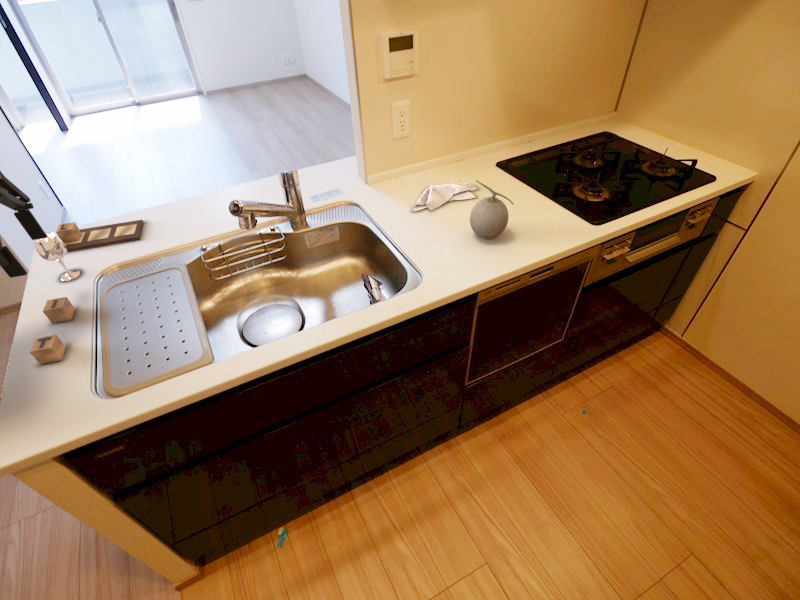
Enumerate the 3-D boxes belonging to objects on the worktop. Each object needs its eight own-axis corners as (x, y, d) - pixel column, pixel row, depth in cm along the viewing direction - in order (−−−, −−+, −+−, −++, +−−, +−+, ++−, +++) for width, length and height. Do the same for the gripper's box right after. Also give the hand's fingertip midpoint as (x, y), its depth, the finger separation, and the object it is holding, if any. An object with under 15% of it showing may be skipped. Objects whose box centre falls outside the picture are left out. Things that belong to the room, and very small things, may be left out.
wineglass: (57, 285, 109) (29, 246, 101) (58, 272, 113) (31, 234, 105) (82, 278, 111) (57, 240, 103) (83, 266, 115) (58, 228, 106)
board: (54, 254, 119) (52, 251, 118) (63, 235, 126) (61, 232, 125) (139, 239, 124) (138, 236, 123) (143, 222, 131) (142, 219, 130)
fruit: (509, 246, 119) (519, 198, 109) (468, 244, 120) (474, 197, 110) (506, 226, 127) (515, 179, 117) (467, 224, 128) (472, 178, 118)
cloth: (464, 178, 150) (465, 172, 148) (486, 196, 140) (487, 189, 139) (397, 195, 141) (397, 188, 140) (416, 214, 132) (416, 208, 131)
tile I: (52, 323, 99) (41, 311, 96) (56, 312, 101) (47, 299, 99) (71, 319, 99) (61, 307, 97) (75, 308, 102) (66, 296, 100)
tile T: (40, 364, 90) (28, 352, 87) (45, 350, 92) (34, 338, 90) (61, 360, 91) (50, 347, 88) (66, 346, 93) (56, 333, 91)
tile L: (63, 243, 121) (55, 231, 118) (66, 236, 124) (59, 224, 121) (78, 241, 122) (71, 229, 119) (82, 233, 124) (74, 221, 122)
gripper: (-51, 186, 66) (31, 289, 81) (7, 129, 84) (65, 221, 98) (-109, 194, 65) (-15, 297, 79) (-38, 134, 82) (28, 227, 97)
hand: (30, 255), depth 89 cm, fingers open, 13 cm apart
